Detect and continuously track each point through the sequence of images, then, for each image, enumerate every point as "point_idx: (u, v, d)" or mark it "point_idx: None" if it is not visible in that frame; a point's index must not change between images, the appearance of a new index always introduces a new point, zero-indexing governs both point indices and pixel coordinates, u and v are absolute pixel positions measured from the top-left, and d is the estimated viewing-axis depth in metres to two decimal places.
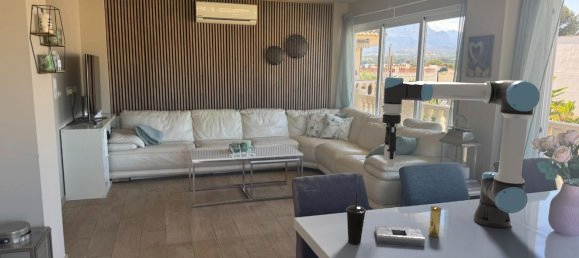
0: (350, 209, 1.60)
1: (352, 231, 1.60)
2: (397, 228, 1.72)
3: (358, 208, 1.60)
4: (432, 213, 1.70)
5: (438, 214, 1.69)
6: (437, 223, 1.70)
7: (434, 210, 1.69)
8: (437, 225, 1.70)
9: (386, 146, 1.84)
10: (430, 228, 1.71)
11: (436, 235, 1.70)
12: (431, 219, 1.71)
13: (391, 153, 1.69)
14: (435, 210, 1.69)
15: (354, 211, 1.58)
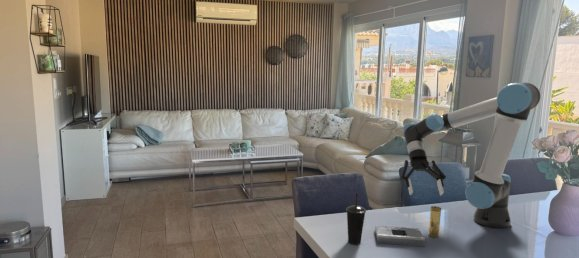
0: (350, 209, 1.60)
1: (352, 231, 1.60)
2: (397, 228, 1.72)
3: (358, 208, 1.60)
4: (432, 213, 1.70)
5: (438, 214, 1.69)
6: (437, 223, 1.70)
7: (434, 210, 1.69)
8: (437, 225, 1.70)
9: (437, 182, 1.85)
10: (430, 228, 1.71)
11: (436, 235, 1.70)
12: (431, 219, 1.71)
13: (405, 181, 1.84)
14: (435, 210, 1.69)
15: (354, 211, 1.58)
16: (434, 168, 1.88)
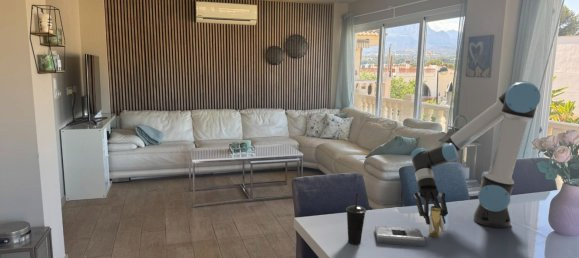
0: (350, 209, 1.60)
1: (352, 231, 1.60)
2: (397, 228, 1.72)
3: (358, 208, 1.60)
4: (432, 213, 1.70)
5: (438, 214, 1.69)
6: (437, 223, 1.70)
7: (434, 210, 1.69)
8: (437, 225, 1.70)
9: None
10: None
11: (436, 235, 1.70)
12: None
13: (425, 218, 1.72)
14: (435, 210, 1.69)
15: (354, 211, 1.58)
16: (441, 201, 1.76)
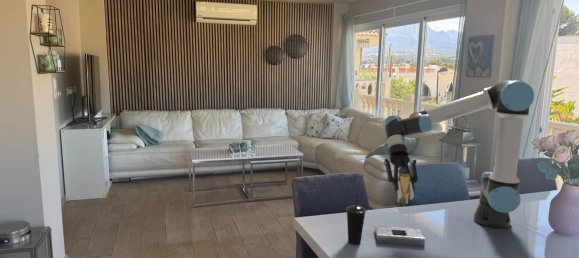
0: (350, 209, 1.60)
1: (352, 231, 1.60)
2: (397, 228, 1.72)
3: (358, 208, 1.60)
4: (401, 179, 1.65)
5: (407, 180, 1.64)
6: (406, 189, 1.65)
7: (403, 175, 1.64)
8: (406, 191, 1.65)
9: None
10: None
11: (405, 201, 1.65)
12: (400, 185, 1.65)
13: (394, 184, 1.66)
14: (404, 175, 1.64)
15: (354, 211, 1.58)
16: (412, 167, 1.71)
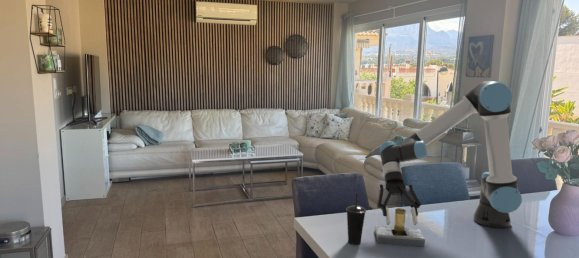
0: (350, 209, 1.60)
1: (352, 231, 1.60)
2: None
3: (358, 208, 1.60)
4: (396, 216, 1.66)
5: (402, 217, 1.65)
6: (401, 226, 1.66)
7: (398, 212, 1.65)
8: (401, 228, 1.66)
9: (411, 210, 1.69)
10: (395, 231, 1.67)
11: None
12: (395, 222, 1.67)
13: (382, 210, 1.68)
14: (399, 212, 1.65)
15: (354, 211, 1.58)
16: (410, 193, 1.72)
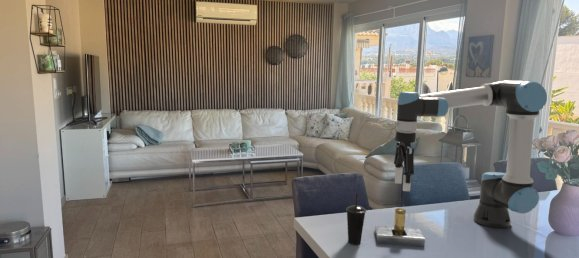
0: (350, 209, 1.60)
1: (352, 231, 1.60)
2: None
3: (358, 208, 1.60)
4: (396, 216, 1.66)
5: (402, 217, 1.65)
6: (401, 226, 1.66)
7: (398, 212, 1.65)
8: (401, 228, 1.66)
9: (397, 169, 1.69)
10: (395, 231, 1.67)
11: None
12: (395, 222, 1.67)
13: (408, 177, 1.58)
14: (399, 212, 1.65)
15: (354, 211, 1.58)
16: None
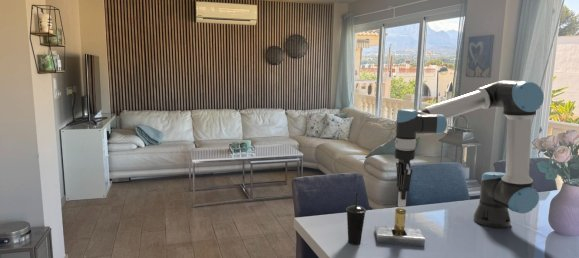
0: (350, 209, 1.60)
1: (352, 231, 1.60)
2: None
3: (358, 208, 1.60)
4: (396, 216, 1.66)
5: (402, 217, 1.65)
6: (401, 226, 1.66)
7: (398, 212, 1.65)
8: (401, 228, 1.66)
9: None
10: (395, 231, 1.67)
11: None
12: (396, 222, 1.67)
13: (403, 193, 1.64)
14: (399, 213, 1.65)
15: (354, 211, 1.58)
16: None
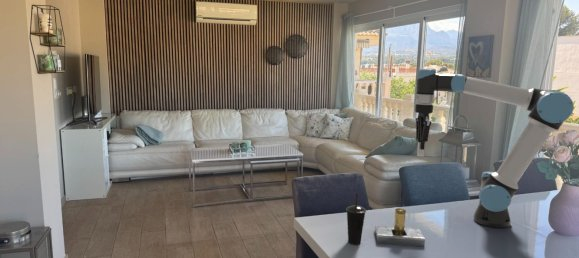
0: (350, 209, 1.60)
1: (352, 231, 1.60)
2: None
3: (358, 208, 1.60)
4: (396, 216, 1.66)
5: (402, 217, 1.65)
6: (401, 226, 1.66)
7: (398, 213, 1.65)
8: (401, 228, 1.66)
9: None
10: (395, 231, 1.67)
11: None
12: (395, 222, 1.66)
13: (422, 144, 1.84)
14: (399, 213, 1.65)
15: (354, 211, 1.58)
16: (419, 125, 1.89)
